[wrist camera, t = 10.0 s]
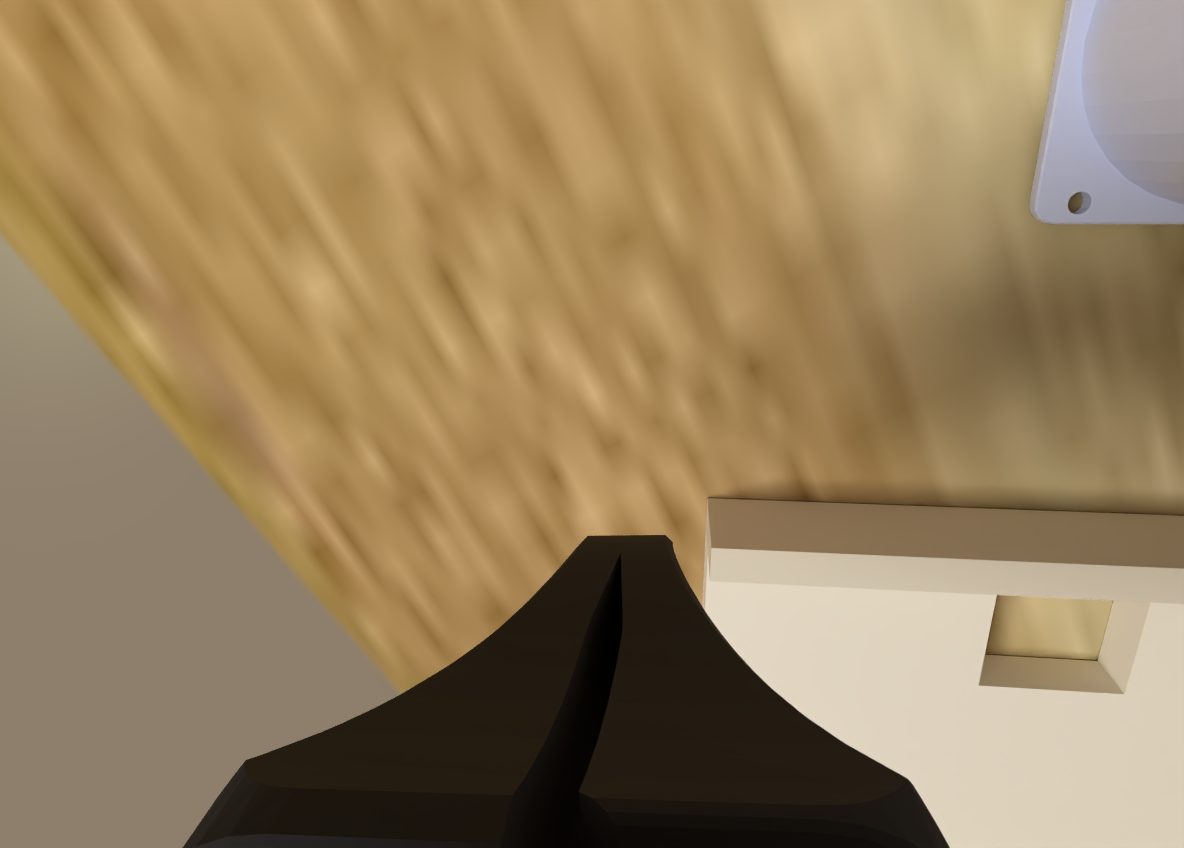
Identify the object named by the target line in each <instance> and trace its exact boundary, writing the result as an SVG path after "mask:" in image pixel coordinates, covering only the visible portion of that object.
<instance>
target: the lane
mask: <svg viewBox="0 0 1184 848" xmlns="http://www.w3.org/2000/svg"><path fill="white" fill-rule="evenodd" d="M997 595H1006V596H1027V597H1048V598H1069V599H1089V600H1110V601H1113V605H1112V608H1111V612H1110V616H1109V620H1108V623H1107V627H1106V631H1105V635H1104V639H1103V642H1102V646H1101V650H1100V654H1099V657H1098V661H1088V660H1070V659H1053V658H1035V657H1017V656H999V655H985V651H986V646H987V641H988V636H989V631H990V626H991V621H992V617H993V612H994V607H995V602H996V597H997ZM702 607H703V609H704V610H705V612H706V613H707V614H708V616H709V617H710V619H711V620H712V622H713V623H714V624H715V626H716V627H717V628H718V630H719V631H720V632H721V634H722V635H723V636H724V638H725V639H726V640H727V641H728V643H729V644H730V645H731V646H732V648H733V649H734V650H735V651H736V652H737V653H738V655H739V656H740V657H741V658H742V659H743V660H744V661H745V662H746V663H747V664H748V665H749V666H750V668H751V669H752V670H753V671H754V672H755V673H756V674H757V675H758V676H759V677H760V678H761V679H762V680H763V681H764V682H765V683H766V684H767V685H769V686H770V687H771V688H772V689H773V690H774V691H775V692H776V693H778V694H779V695H780V696H781V697H782V698H784V699H785V700H786V701H787V702H788V703H790V704H791V705H792V706H793V707H794V708H796V709H797V710H798V711H799V712H801V713H802V714H803V715H805V716H806V717H807V718H808V719H810V720H811V721H813V722H814V723H816V724H817V725H819V726H820V727H822V728H823V729H824V730H826V731H827V732H829V733H830V734H832V735H833V736H835V737H836V738H838V739H839V740H841V741H842V742H844V743H845V744H847V745H849V746H850V747H852V748H854V749H856V750H858V751H859V752H861V753H863V754H865V755H867V756H868V757H870V758H872V759H874V760H875V761H877V762H879V763H881V764H883V765H884V766H886V767H888V768H890V769H891V770H893V771H895V772H897V773H899V774H900V775H902V776H904V777H906V778H907V779H908V780H909V781H910V782H911V783H912V784H913V786H914V787H915V789H916V790H917V792H918V794H919V795H920V797H921V798H922V800H923V802H924V803H925V805H926V807H927V808H928V810H929V812H930V813H931V815H932V817H933V818H934V820H935V822H936V823H937V825H938V827H939V829H940V831H941V833H942V834H943V836H944V838H945V840H946V842H947V843H948V845H949V847H950V848H1184V516H1176V515H1149V514H1122V513H1095V512H1068V511H1041V510H1014V509H987V508H960V507H933V506H906V505H879V504H852V503H825V502H798V501H771V500H744V499H717V498H707V517H706V538H705V559H704V581H703V602H702Z"/></svg>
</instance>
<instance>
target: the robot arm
mask: <svg viewBox="0 0 1184 848" xmlns="http://www.w3.org/2000/svg"><path fill="white" fill-rule="evenodd" d="M1078 192H1080V193H1081V195H1082V196H1083V203H1082V205H1081V207H1080V208H1079V209H1078V210H1077V211H1076V212H1072V213H1071V212H1070V211H1069V209H1068V201H1069V199H1070V197H1071V196H1073V195H1074V194H1075V193H1078ZM1030 212H1031V214H1032V216H1033V217H1034V218H1035V219H1036V220H1038V221H1039V222H1044V223H1049V224H1184V0H1066V5H1065V11H1064V16H1063V22H1062V27H1061V33H1060V38H1059V43H1058V49H1057V54H1056V60H1055V65H1054V71H1053V76H1052V82H1051V87H1050V93H1049V98H1048V104H1047V109H1046V115H1045V120H1044V126H1043V131H1042V137H1041V142H1040V148H1039V153H1038V159H1037V164H1036V170H1035V175H1034V181H1033V186H1032V191H1031V197H1030ZM183 848H950V847H949V845H948V843H947V842H946V840H945V838H944V836H943V834H942V833H941V831H940V829H939V827H938V825H937V823H936V822H935V820H934V818H933V817H932V815H931V813H930V812H929V810H928V808H927V807H926V805H925V803H924V802H923V800H922V798H921V797H920V795H919V794H918V792H917V790H916V789H915V787H914V786H913V784H912V783H911V782H910V781H909V780H908V779H907V778H906V777H904V776H902V775H900V774H899V773H897V772H895V771H893V770H891V769H890V768H888V767H886V766H884V765H883V764H881V763H879V762H877V761H875V760H874V759H872V758H870V757H868V756H867V755H865V754H863V753H861V752H859V751H858V750H856V749H854V748H852V747H850V746H849V745H847V744H845V743H844V742H842V741H841V740H839V739H838V738H836V737H835V736H833V735H832V734H830V733H829V732H827V731H826V730H824V729H823V728H822V727H820V726H819V725H817V724H816V723H814V722H813V721H811V720H810V719H808V718H807V717H806V716H805V715H803V714H802V713H801V712H799V711H798V710H797V709H796V708H794V707H793V706H792V705H791V704H790V703H788V702H787V701H786V700H785V699H784V698H782V697H781V696H780V695H779V694H778V693H776V692H775V691H774V690H773V689H772V688H771V687H770V686H769V685H767V684H766V683H765V682H764V681H763V680H762V679H761V678H760V677H759V676H758V675H757V674H756V673H755V672H754V671H753V670H752V669H751V668H750V666H749V665H748V664H747V663H746V662H745V661H744V660H743V659H742V658H741V657H740V656H739V655H738V653H737V652H736V651H735V650H734V649H733V648H732V646H731V645H730V644H729V643H728V641H727V640H726V639H725V638H724V636H723V635H722V634H721V632H720V631H719V630H718V628H717V627H716V626H715V624H714V623H713V622H712V620H711V619H710V617H709V616H708V614H707V613H706V612H705V610H704V609H703V607H702V606H701V604H700V602H699V601H698V599H697V597H696V596H695V594H694V592H693V591H692V589H691V587H690V586H689V584H688V582H687V580H686V578H685V576H684V574H683V572H682V570H681V568H680V566H679V563H678V561H677V559H676V556H675V553H674V549H673V542H672V541H671V540H670V539H669V538H668V537H667V536H666V535H631V536H587V537H586V538H585V539H584V540H583V541H582V542H581V544H580V545H579V546H578V547H577V548H576V549H575V550H574V552H573V553H572V554H571V555H570V556H569V557H568V559H567V560H566V561H565V562H564V563H563V564H562V565H561V567H560V568H559V569H558V570H557V571H556V572H555V573H554V574H553V576H552V577H551V578H550V579H549V580H548V581H547V582H546V583H545V584H544V585H543V586H542V587H541V588H540V589H539V590H538V591H537V593H536V594H535V595H534V596H533V597H532V598H531V599H530V600H529V601H528V602H527V603H526V604H525V605H524V606H523V607H522V608H521V609H519V610H518V611H517V612H516V613H515V614H514V615H513V616H512V617H511V618H510V619H509V620H508V621H506V622H505V623H504V624H503V625H502V626H501V627H500V628H499V629H497V630H496V631H495V632H494V633H493V634H491V635H490V636H489V637H488V638H486V639H485V640H484V641H482V642H481V643H480V644H478V645H477V646H476V647H474V648H473V649H472V650H470V651H469V652H468V653H466V654H465V655H463V656H462V657H461V658H459V659H458V660H456V661H455V662H453V663H452V664H450V665H449V666H447V667H446V668H444V669H442V670H441V671H439V672H437V673H436V674H434V675H432V676H431V677H429V678H427V679H426V680H424V681H423V682H421V683H419V684H418V685H416V686H414V687H413V688H411V689H409V690H408V691H406V692H404V693H403V694H401V695H399V696H397V697H395V698H393V699H391V700H389V701H387V702H386V703H384V704H382V705H380V706H378V707H376V708H374V709H372V710H370V711H368V712H366V713H363V714H361V715H359V716H357V717H355V718H353V719H350V720H348V721H346V722H344V723H342V724H340V725H337V726H335V727H333V728H330V729H328V730H326V731H323V732H321V733H318V734H316V735H313V736H311V737H308V738H305V739H303V740H300V741H297V742H295V743H292V744H289V745H287V746H284V747H282V748H279V749H276V750H274V751H271V752H268V753H266V754H263V755H260V756H257V757H254V758H251V759H248V760H246V761H245V762H244V763H243V765H242V766H241V767H240V768H239V770H238V771H237V772H236V773H235V775H234V776H233V777H232V779H231V780H230V781H229V783H228V784H227V785H226V787H225V788H224V789H223V791H222V792H221V793H220V795H219V796H218V797H217V799H216V800H215V802H214V803H213V805H212V806H211V808H210V809H209V810H208V812H207V813H206V815H205V816H204V818H203V819H202V821H201V822H200V824H199V825H198V826H197V828H196V829H195V831H194V832H193V834H192V835H191V836H190V838H189V839H188V841H187V842H186V844H185V845H184V847H183Z"/></svg>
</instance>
